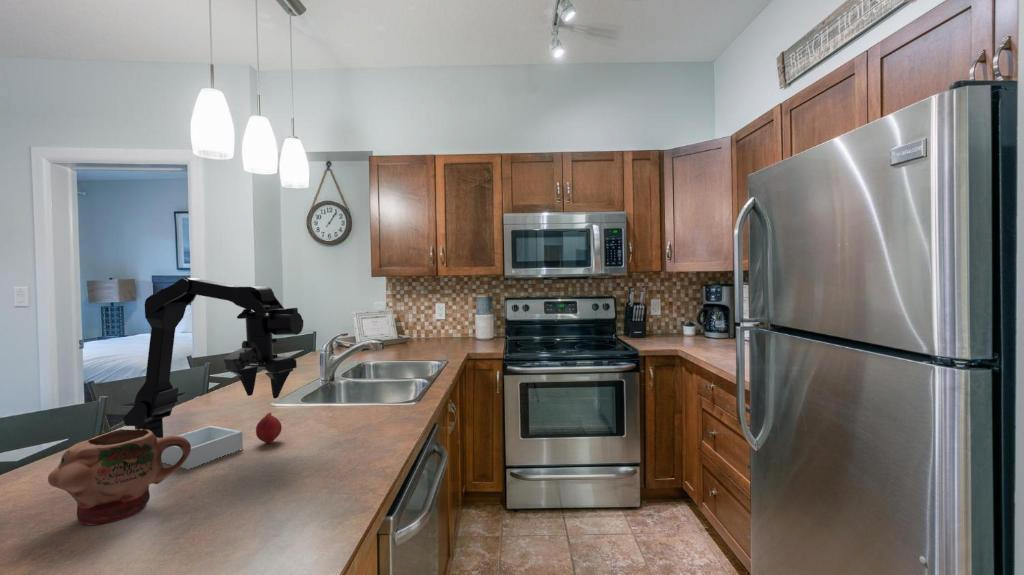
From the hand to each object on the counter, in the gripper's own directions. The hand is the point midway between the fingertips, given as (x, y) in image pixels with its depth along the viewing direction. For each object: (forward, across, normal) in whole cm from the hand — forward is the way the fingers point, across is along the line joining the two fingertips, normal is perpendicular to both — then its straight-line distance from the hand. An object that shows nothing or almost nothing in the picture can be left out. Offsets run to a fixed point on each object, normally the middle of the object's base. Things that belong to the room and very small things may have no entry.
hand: (262, 396), depth 114 cm
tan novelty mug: (+13, +3, -32) cm, 34 cm away
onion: (+13, 0, +1) cm, 13 cm away
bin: (+12, -10, -10) cm, 18 cm away
